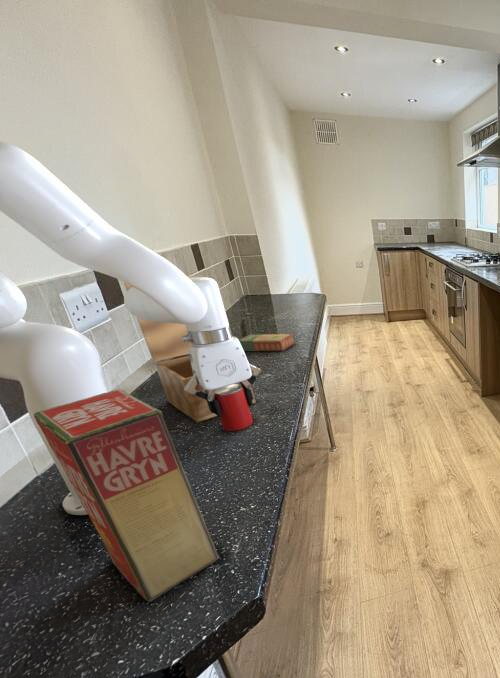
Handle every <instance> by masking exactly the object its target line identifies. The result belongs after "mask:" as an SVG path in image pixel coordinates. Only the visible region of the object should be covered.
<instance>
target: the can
mask: <svg viewBox="0 0 500 678" xmlns="http://www.w3.org/2000/svg"><path fill="white" fill-rule="evenodd" d="M214 397H215V399H217V400H218V403H219V406H220V409H221V413H222V415H221V416H219V419H220V422H221V424H222V428H223V430H225V431H226V432H227V431H228V432H234V431H239V430H244V429H247V428H248V427H250V426H251V425H252V424H253V422H254V421H253V418H252V413H251V410H250V407H249V405H248V403H247V400H246V396H245V393H244V389H243V387H242V386H241V385H239V384H232V385H228V386H225V387H222V388H218V389H215V396H214Z"/></svg>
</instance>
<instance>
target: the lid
mask: <svg viewBox="0 0 500 678" xmlns="http://www.w3.org/2000/svg"><path fill="white" fill-rule="evenodd" d="M186 276H187V277H188V278H192V275H186ZM123 284H124V287H125V290H126V292H127V291H128V290H129V289H130V288H131V287H133V286H131V285H129V284H127V283H125V282H123ZM136 319H137V322H138V325H139V327H140V330H141V332H142V335H143V338H144V340H145V344H146V345H147V348H148V351H149V354H150V356H151V360H152V361H153V362H154V363H157V362H162V361H166V360H170V359H175V358H179V357H183V356H185V355H187V354H189V345H190V344H192V343H191V342H188V341H187V342H183V341H182V338H181V336H184V335H186V334H187V331H188V330H187V327H186V324H178V323H169V322H154V321H147V320H143V319H140V318H138V317H136Z"/></svg>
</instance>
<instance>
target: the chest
mask: <svg viewBox="0 0 500 678" xmlns="http://www.w3.org/2000/svg"><path fill="white" fill-rule="evenodd" d="M154 366H155V370H156V371H157V374H158V376H159V380H160V383H161V385H162V387H163V390H164V394H165V395H166V398H167V400H168V404H171V405H172V406H173V407H174V408H176V409H178V410H179V411H180V412H182V414H185V416H187V417H189V418H190V419H192V420H193V421H195V422H196V423H200V422H202V421H203V422H204V421H205V420H209V419H211V418H214V417H218V416H217V415H216V414H214V413H211V411H210V409H209V406H208V403H207V400H206V399H203V398H200V397H198V396H196V395H193V394H190V393H187V392H186V391H184V388H185V387H186V385H187V384H188V382H189V381H190V379H191V378H192V376H193V371H192V366H191V361H190V355H189V356H185V355H183V356H179V357H175V358H170V359H166V360H162V361H158V362H154ZM235 384H239V385H241V384H240V383H239V382H238V383H235ZM241 386H242V385H241ZM195 389H197V390H200V391H202V392H203V391H204V388H202V386H199V385H197V386H196V387H195ZM251 392H252V396H253V400H252V403H253V404H255V403H257V402H256V399H255V395H254V391H253V387H252V388H251Z"/></svg>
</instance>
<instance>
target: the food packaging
mask: <svg viewBox="0 0 500 678" xmlns="http://www.w3.org/2000/svg"><path fill="white" fill-rule="evenodd" d="M34 417H35V419H36V421H37V423H38V425H39V426H40V428H41V430H42V432H43V433H44V435H45V437H46V439H47V441H48V443H49V445H50V447H51V448H52V450H53V452H54V454H55V455H56V457H57V459H58V461H59V462H60V464H61V466H62V468H63V469H64V471H65V473H66V475H67V477H68V479H69V481H70V482H71V484H72V486H73V488H74V490H75V492H76V494H77V496H78V498H79V500H80V502H81V504H82V505H83V507H84V508H85V510H86V512H87V513H88V515H87V516H88V517H89V518H90V520H91V522H92V524H93V526H94V528H95V529H96V532H97V533H98V534H99V537H100V538H101V539H100V540H102V543H103V544H104V546H105V549H106V550H107V553H108V555H109V557H110V559H111V562H112V565H114V566H115V568H116V569H117V570H118V571H120V574H122V576H123V577H124V578H125V579H126V580H127V582H128V583H129V584H130V585H131V586H132V587H133V588H134V589H135V590H136V591H137V593H139V595H140V596H141V598H143V599H144V600H145V601H147V602H152V601H154V600H155V599H156V598H159V597H161V596H162V595H163V594H165V593H167V592H168V591H170V590H172V589H173V588H175V587H176V586H178V585H180V584H181V583H183V582H185V581H186V580H188V579H189V578H191V577H192V576H194V575H195V574H197V573H199V572H200V571H202V570H204V569H205V568H207V567H208V566H210V565H212V564H213V563H215V562H217V560H219V559H220V556H219V553H218V552H217V549H216V546H215V544H214V542H213V539H212V537H211V535H210V532H209V530H208V527H207V525H206V522H205V519H204V517H203V515H202V512H201V510H200V507H199V504H198V502H197V500H196V497H195V494H194V492H193V489H192V486H191V484H190V481H189V478H188V476H187V474H186V472H185V469H184V467H183V464H182V461H181V459H180V457H179V455H178V452H177V449H176V447H175V444H174V441H173V438H172V437H171V434H170V431H169V429H168V426H167V424H166V421H165V419H164V416H163V411H162V410H160V409H158V408H155V407H153V406H152V405H150V404H148V403H146V402H144V401H142V400H141V399H139V398H137V397H135V396H133V395H132V394H130V393H128V392H127V391H125V390H123V389H115V390H114V389H113V390H112V391H108V392H107V393H103V394H99V395H96V396H93V397H90V398H86V399H82V400H78V401H75V402H72V403H69V404H65V405H60V406H57V407H53V408H50V409H47V410H43V411H40V412H37V413H35V414H34Z"/></svg>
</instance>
